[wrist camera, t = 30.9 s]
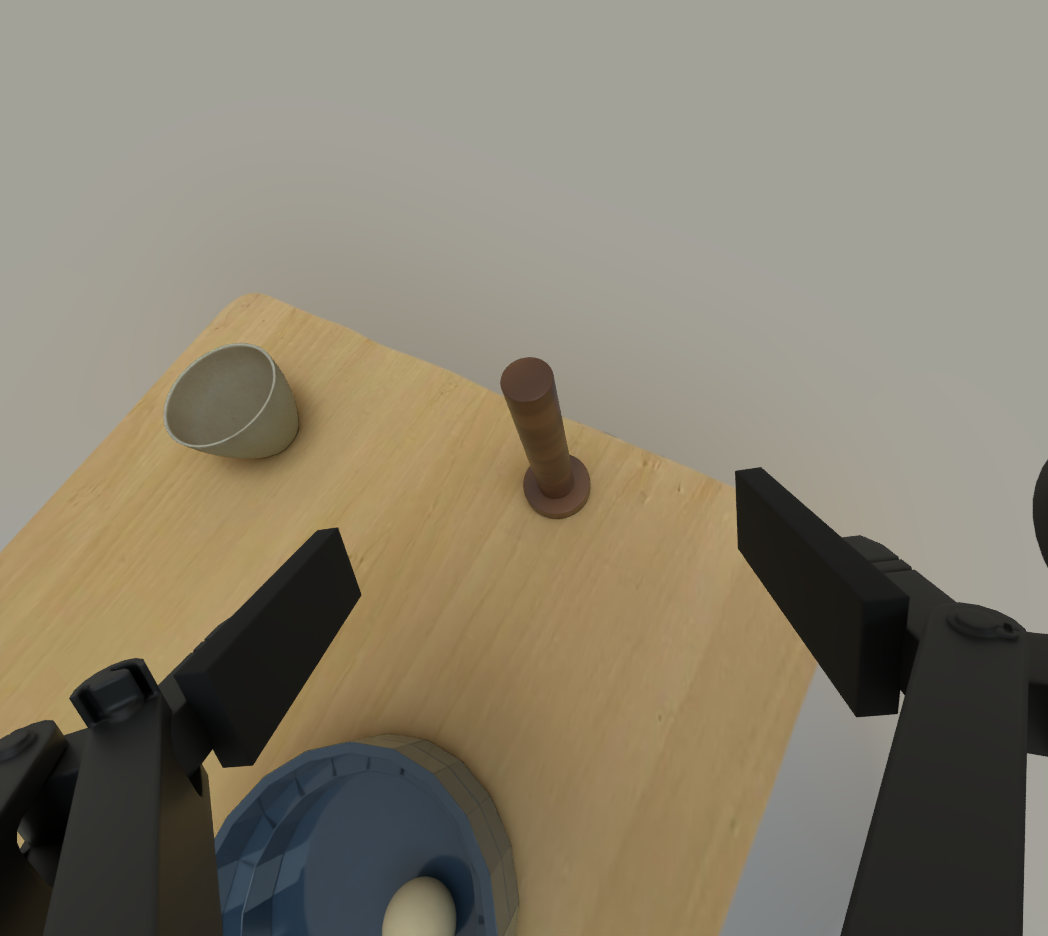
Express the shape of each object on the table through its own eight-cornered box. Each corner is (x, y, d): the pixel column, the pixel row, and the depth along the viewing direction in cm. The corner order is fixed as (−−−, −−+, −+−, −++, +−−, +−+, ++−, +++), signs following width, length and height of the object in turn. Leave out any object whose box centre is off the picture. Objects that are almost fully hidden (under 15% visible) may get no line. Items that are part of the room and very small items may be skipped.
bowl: (564, 819, 29) (553, 848, 24) (432, 1190, 24) (379, 1335, 19) (346, 689, 35) (297, 689, 29) (198, 969, 29) (105, 1032, 24)
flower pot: (237, 396, 49) (179, 351, 42) (329, 382, 47) (284, 334, 41) (214, 487, 44) (147, 453, 38) (315, 475, 43) (262, 438, 37)
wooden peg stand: (602, 477, 38) (596, 361, 25) (567, 531, 37) (539, 439, 23) (548, 448, 40) (514, 325, 26) (513, 498, 39) (458, 396, 25)
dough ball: (355, 956, 26) (396, 880, 29) (414, 1010, 25) (448, 926, 29) (385, 921, 24) (424, 846, 28) (448, 977, 24) (479, 893, 27)
